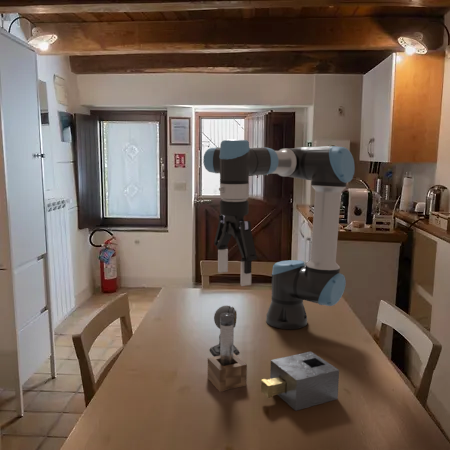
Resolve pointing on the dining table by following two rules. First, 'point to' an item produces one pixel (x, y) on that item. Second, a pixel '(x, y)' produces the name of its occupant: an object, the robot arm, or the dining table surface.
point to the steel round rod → (226, 338)
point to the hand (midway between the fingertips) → (233, 278)
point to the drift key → (273, 386)
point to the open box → (227, 373)
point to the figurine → (223, 309)
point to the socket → (306, 379)
